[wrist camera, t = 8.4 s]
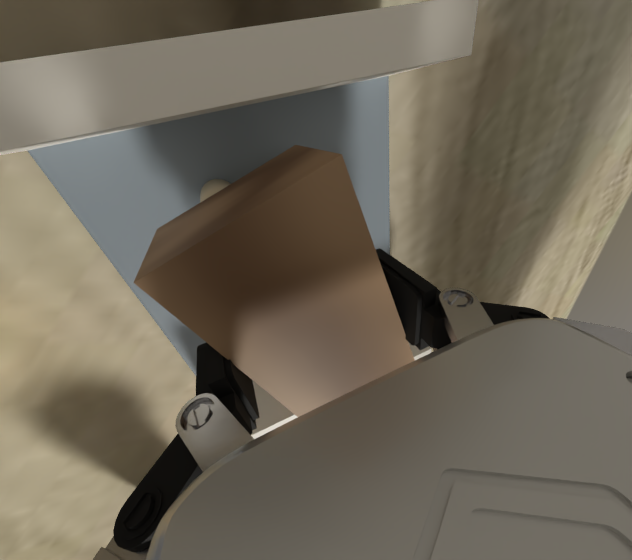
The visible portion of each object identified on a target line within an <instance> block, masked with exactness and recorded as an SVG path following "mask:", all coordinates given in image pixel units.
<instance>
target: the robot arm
mask: <svg viewBox="0 0 632 560" xmlns="http://www.w3.org/2000/svg"><path fill="white" fill-rule="evenodd" d="M376 252H377V255H378V258H379V261H380V264H381V266H382V269H383V272H384V275H385V278H386V281H387V283H388V286H389V289H390V292H391V295H392V298H393V300H394V303H395V306H396V309H397V312H398V315H399V317H400V320H401V323H402V326H403V329H404V332H405V334H406V337H405V339H406V340H407V341H408V342H409V343H410V344H411V345H413V346H414V345H415V346H416V347H417V348H418V349H419V350H422V349H424V348H426V347H429V346H430V347H432V348H433V350H434V352H432V353H430V354H428V355H425V356H423V357H421V358H419V359H417V360H415V361H413V362H411V363H409V364H407V365H404V366H402V367H400V368H398V369H396V370H394V371H392V372H390V373H388V374H386V375H384V376H382V377H380V378H377V379H375V380H373V381H371V382H369V383H367V384H365V385H363V386H361V387H359V388H357V389H355V390H353V391H351V392H349V393H346V394H344V395H342V396H340V397H338V398H336V399H334V400H332V401H330V402H328V403H326V404H324V405H322V406H320V407H318V408H316V409H314V410H312V411H310V412H308V413H306V414H304V415H302V416H299V417H297V418H295V419H293V420H291V421H289V422H287V423H285V424H283V425H281V426H279V427H278V428H276V429H274V430H272V431H270V432H268V433H266V434H264V435H262V436H260V437H258V438H256V439H254V438H253V437H252V436H251V434H252V430H254V429H256V428H257V426H256V419H258V418H259V411H258V406H257V401H256V396H255V391H254V386H253V381H252V379H251V378H249V377H248V376H247V375H246V374H244V373H243V372H242V371H241V370H240V369H238V368H237V367H236V366H235V365H233V363H232V361H231V359H229V360H227V359H226V358H225V357H224V356H222V355H221V354H220V353H219V352H218V351H216V350H215V349H214V348H213V347H211V346H210V345H209V344H208V343H207V342H206V343H203V344H201V345H198V347H197V367H196V396H195V397H194V398H192V399H191V400H189V401H188V402H187V403H186V404H185V405H184V406H183V407H182V409H181V410H180V412H179V413H178V416H177V419H176V429H177V432H178V434H177V436H176V437H175V438H174V439H173V441H172V442H171V443H170V445H169V446H168V447H167V449H166V450H165V451H164V452H163V454H162V455H161V456H160V458H159V459H158V460H157V462H156V463H155V464H154V465H153V467H152V468H151V469H150V471H149V472H148V473H147V475H146V476H145V477H144V478H143V480H142V481H141V482H140V484H139V485H138V486H137V488H136V489H135V490H134V491H133V493H132V494H131V495H130V497H129V498H128V499H127V501H126V502H125V504H124V505H123V507H122V508H121V510H120V512H119V514H118V517H117V519H116V522H115V526H114V531H113V532H114V536H113V538H112V539H111V541H110V542H109V544H108V545H107V547H106V548H103V547H101V548H100V550H99V551H98V553H97V554H96V555H95V557H94V558H93V560H632V333H631V332H629V331H626V330H624V329H620V328H615V327H610V326H604V325H598V324H592V323H586V322H580V321H575V320H568V319H563V318H557V317H553V319H550V318H549V317H547V316H546V315H545V314H543V313H541V312H540V311H537V310H534V309H531V308H526V307H517V306H509V305H500V304H492V303H484V302H479V300H478V299H477V297H476V296H475V295H474V294H473V293H472V292H470V291H468V290H465V289H461V288H448V289H445V290H443V291H442V292H441V291H439V290H438V289H437V288H436V287H435V286H434V285H432V284H431V283H429V282H428V281H426V280H425V279H424V278H422V277H421V276H419V275H418V274H416V273H415V272H414V271H412V270H411V269H409V268H408V267H406V266H405V265H403V264H402V263H401V262H399V261H398V260H396V259H395V258H393V257H392V256H391V255H389V254H388V253H386V252H385V251H383V250H382V249H380V248H378V249H376Z"/></svg>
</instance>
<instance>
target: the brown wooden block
mask: <svg viewBox="0 0 632 560" xmlns="http://www.w3.org/2000/svg"><path fill="white" fill-rule="evenodd" d="M134 284H136V285H137V286H138V287H139V288H140V289H142V290H143V291H144V292H145V293H147V294H148V295H149V296H150V297H151V298H153V299H154V300H155V301H156V302H158V303H159V304H160V305H161V306H163V307H164V308H165V309H166V310H167V311H169V312H170V313H171V314H172V315H174V316H175V317H176V318H177V319H178V320H180V321H181V322H182V323H183V324H185V325H186V326H187V327H188V328H189V329H191V330H192V331H193V332H194V333H196V334H197V335H198V336H199V337H200V338H202V339H203V340H204V341H205V342H207V343H208V344H209V345H210V346H211V347H213V348H214V349H215V350H216V351H218V352H219V353H220V354H221V355H222V356H224V357H225V358H226V359H227V360H229V359H231V361H232V363H233V365H235V366H236V367H237V368H238V369H240V370H241V371H242V372H243V373H244V374H246V375H247V376H248V377H249V378H251V379H252V380H253V381H254V382H256V383H257V384H258V385H259V386H260V387H262V388H263V389H264V390H265V391H267V392H268V393H269V394H270V395H271V396H273V397H274V398H275V399H276V400H278V401H279V402H280V403H281V404H282V405H284V406H285V407H286V408H287V409H289V410H290V411H291V412H292V413H293V414H295V415H296V416H297V417H299V416H302V415H304V414H306V413H308V412H310V411H312V410H314V409H316V408H318V407H320V406H322V405H324V404H326V403H328V402H330V401H332V400H334V399H336V398H338V397H340V396H342V395H344V394H346V393H349V392H351V391H353V390H355V389H357V388H359V387H361V386H363V385H365V384H367V383H369V382H371V381H373V380H375V379H377V378H380V377H382V376H384V375H386V374H388V373H390V372H392V371H394V370H396V369H398V368H400V367H402V366H404V365H407V364H409V363H411V362H413V361H415V360H414V357H413V354H412V351H411V349H410V346H409V343H408V341H407V340H406V339H405V337H406V334H405V332H404V329H403V326H402V323H401V320H400V317H399V315H398V312H397V309H396V306H395V303H394V300H393V298H392V295H391V292H390V289H389V286H388V283H387V281H386V278H385V275H384V272H383V269H382V266H381V264H380V261H379V258H378V255H377V252H376V249H375V247H374V244H373V241H372V238H371V235H370V232H369V230H368V227H367V224H366V221H365V218H364V216H363V213H362V210H361V207H360V204H359V201H358V199H357V196H356V193H355V190H354V187H353V184H352V182H351V179H350V176H349V173H348V170H347V167H346V165H345V162H344V159H343V156H342V154H339V153H334V152H329V151H324V150H319V149H314V148H309V147H304V146H300V145H294V146H293V147H291V148H289V149H288V150H286V151H284V152H283V153H281V154H279V155H278V156H276V157H274V158H273V159H271V160H270V161H268V162H266V163H265V164H263V165H261V166H260V167H258V168H256V169H255V170H253V171H251V172H250V173H248V174H247V175H245V176H243V177H242V178H240V179H238V180H237V181H235V182H233V183H232V184H230V185H228V186H227V187H225V188H224V189H222V190H220V191H219V192H217V193H215V194H214V195H212V196H210V197H209V198H207V199H205V200H204V201H202V202H201V203H199V204H197V205H196V206H194V207H192V208H191V209H189V210H187V211H186V212H184V213H182V214H181V215H179V216H177V217H176V218H174V219H173V220H171V221H169V222H168V223H166V224H164V225H163V226H161V227H159V228H158V229H157V230H156V232H155V235H154V237H153V239H152V242H151V244H150V246H149V248H148V251H147V253H146V255H145V258H144V260H143V262H142V264H141V267H140V269H139V271H138V273H137V276H136V278H135V280H134Z"/></svg>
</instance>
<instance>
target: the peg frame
mask: <svg viewBox="0 0 632 560" xmlns="http://www.w3.org/2000/svg"><path fill="white" fill-rule="evenodd" d="M478 1H479V0H434V1H427V2H420V3H413V4H406V5H399V6H392V7H385V8H378V9H371V10H364V11H357V12H350V13H343V14H336V15H329V16H322V17H315V18H308V19H300V20H293V21H286V22H279V23H272V24H265V25H258V26H251V27H244V28H237V29H230V30H223V31H216V32H209V33H202V34H195V35H188V36H181V37H174V38H167V39H160V40H153V41H146V42H139V43H132V44H125V45H118V46H111V47H104V48H97V49H90V50H83V51H76V52H69V53H62V54H55V55H48V56H41V57H34V58H27V59H20V60H13V61H6V62H0V155H3V154H9V153H15V152H21V151H28V152H29V153H30V155H31V156H32V157H33V159H34V160H35V161H36V163H37V164H38V165H39V167H40V168H41V169H42V171H43V172H44V173H45V175H46V176H47V177H48V179H49V180H50V181H51V183H52V184H53V185H54V187H55V188H56V189H57V191H58V192H59V193H60V195H61V196H62V197H63V199H64V200H65V201H66V203H67V204H68V205H69V207H70V208H71V209H72V211H73V212H74V213H75V215H76V216H77V217H78V219H79V220H80V222H81V223H82V224H83V226H84V227H85V228H86V230H87V231H88V232H89V234H90V235H91V236H92V238H93V239H94V240H95V242H96V243H97V244H98V246H99V247H100V248H101V250H102V251H103V252H104V254H105V255H106V256H107V258H108V259H109V260H110V262H111V263H112V264H113V266H114V267H115V268H116V270H117V271H118V272H119V274H120V275H121V276H122V278H123V279H124V280H125V282H126V283H127V284H128V286H129V287H130V288H131V290H132V291H133V292H134V294H135V295H136V296H137V298H138V299H139V300H140V302H141V303H142V304H143V306H144V307H145V308H146V310H147V311H148V312H149V314H150V315H151V316H152V318H153V319H154V320H155V322H156V323H157V324H158V326H159V327H160V328H161V330H162V331H163V332H164V334H165V335H166V336H167V338H168V339H169V340H170V342H171V343H172V344H173V346H174V347H175V348H176V350H177V351H178V352H179V354H180V355H181V356H182V358H183V359H184V360H185V362H186V363H187V364H188V366H189V367H190V368H191V370H192V371H193V372H194V374H195V375H196V367H197V347H198V345H201V344H203V343H206V342H205V341H204V340H203V339H202V338H200V337H199V336H198V335H197V334H196V333H194V332H193V331H192V330H191V329H189V328H188V327H187V326H186V325H185V324H183V323H182V322H181V321H180V320H178V319H177V318H176V317H175V316H174V315H172V314H171V313H170V312H169V311H167V310H166V309H165V308H164V307H163V306H161V305H160V304H159V303H158V302H156V301H155V300H154V299H153V298H151V297H150V296H149V295H148V294H147V293H145V292H144V291H143V290H142V289H140V288H139V287H138V286H137V285H136V284H134V280H135V278H136V276H137V273H138V271H139V269H140V267H141V264H142V262H143V260H144V258H145V255H146V253H147V251H148V248H149V246H150V244H151V242H152V239H153V237H154V235H155V232H156V230H157V229H158V228H159V227H161V226H163V225H164V224H166V223H168V222H169V221H171V220H173V219H174V218H176V217H177V216H179V215H181V214H182V213H184V212H186V211H187V210H189V209H191V208H192V207H194V206H196V205H197V204H199V203H201V202H202V201H204V200H205V199H207V198H209V197H210V196H212V195H214V194H215V193H217V192H219V191H220V190H222V189H224V188H225V187H227V186H228V185H230V184H232V183H233V182H235V181H237V180H238V179H240V178H242V177H243V176H245V175H247V174H248V173H250V172H251V171H253V170H255V169H256V168H258V167H260V166H261V165H263V164H265V163H266V162H268V161H270V160H271V159H273V158H274V157H276V156H278V155H279V154H281V153H283V152H284V151H286V150H288V149H289V148H291V147H293V146H294V145H300V146H304V147H309V148H314V149H319V150H324V151H329V152H334V153H339V154H342V156H343V159H344V162H345V165H346V167H347V170H348V173H349V176H350V179H351V182H352V184H353V187H354V190H355V193H356V196H357V199H358V201H359V204H360V207H361V210H362V213H363V216H364V218H365V221H366V224H367V227H368V230H369V232H370V235H371V238H372V241H373V244H374V247H375V249H378V248H380V249H382V250H383V251H385V252H386V253H388V254H389V255H390V224H389V85H388V76H389V75H393V74H397V73H401V72H405V71H409V70H413V69H417V68H421V67H425V66H430V65H434V64H438V63H442V62H446V61H450V60H454V59H458V58H462V57H466V56H470V55H471V53H472V46H473V38H474V31H475V23H476V16H477V9H478ZM408 343H409V342H408ZM409 346H410V349H411V351H412V354H413V357H414V360H417V359H419V358H421V357H423V356H425V355H428V354H430V353H431V349H432V348H431V347H426V348H424V349H422V350H419V349H418V348H417V347H416V346H415V345H414V346H413V345H411V344H410V343H409ZM252 381H253V380H252ZM253 386H254V391H255V396H256V401H257V406H258V411H259V418H258V419H256V426H257V428H256V429H254V430H252V434H251V436H252V437H253V438H254V439H256V438H258V437H260V436H262V435H264V434H266V433H268V432H270V431H272V430H274V429H276V428H278V427H279V426H281V425H283V424H285V423H287V422H289V421H291V420H293V419H295V418H297V416H296V415H295V414H293V413H292V412H291V411H290V410H289V409H287V408H286V407H285V406H284V405H282V404H281V403H280V402H279V401H278V400H276V399H275V398H274V397H273V396H271V395H270V394H269V393H268V392H267V391H265V390H264V389H263V388H262V387H260V386H259V385H258V384H257V383H256V382H254V381H253Z"/></svg>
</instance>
